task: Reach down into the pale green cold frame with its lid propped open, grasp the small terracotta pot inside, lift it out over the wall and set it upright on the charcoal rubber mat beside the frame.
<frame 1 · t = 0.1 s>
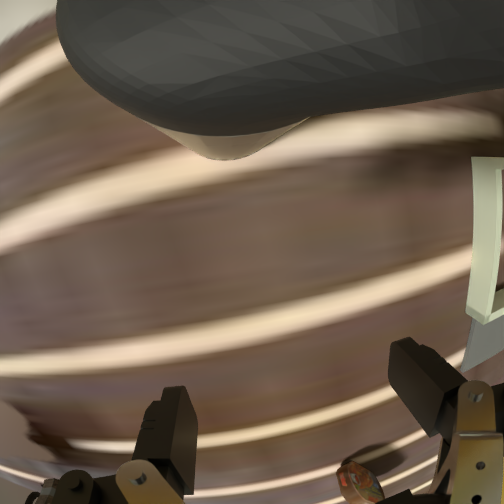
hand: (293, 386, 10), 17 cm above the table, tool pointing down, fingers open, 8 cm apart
tin: (354, 469, 39), on the table
mug: (61, 491, 38), on the table
slate mat: (498, 327, 33), on the table
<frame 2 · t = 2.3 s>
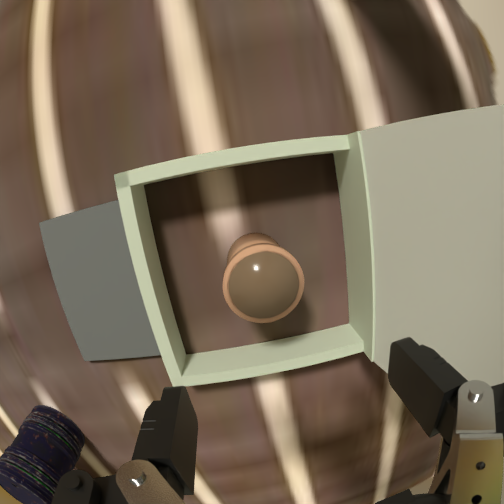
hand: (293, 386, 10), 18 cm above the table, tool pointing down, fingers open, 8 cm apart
pot: (259, 271, 24), in the cold frame
cold frame: (255, 260, 28), on the table
slate mat: (99, 287, 27), on the table
storage jar: (58, 427, 32), on the table
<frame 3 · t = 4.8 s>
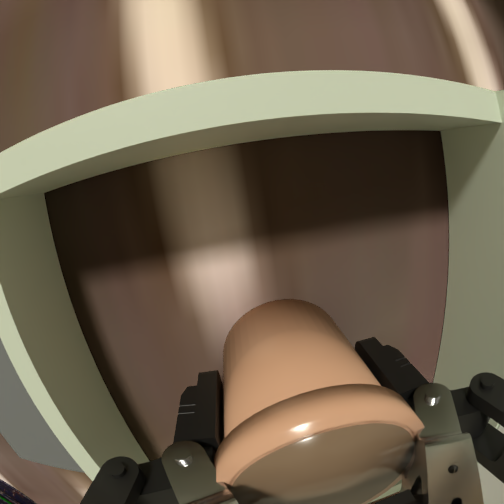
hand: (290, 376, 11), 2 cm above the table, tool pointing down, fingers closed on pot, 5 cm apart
pot: (300, 406, 9), in the cold frame, touching gripper
cold frame: (283, 353, 12), on the table
slate mat: (9, 373, 12), on the table
storage jar: (18, 498, 16), on the table
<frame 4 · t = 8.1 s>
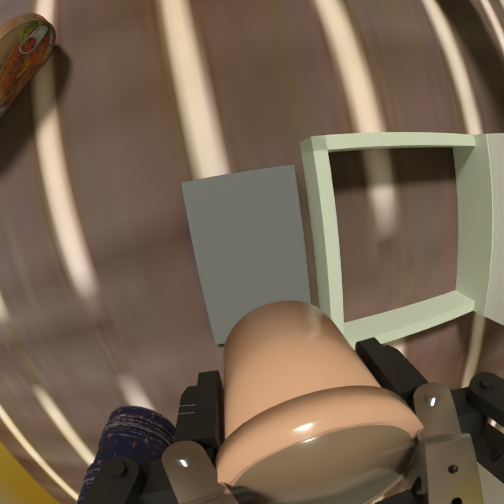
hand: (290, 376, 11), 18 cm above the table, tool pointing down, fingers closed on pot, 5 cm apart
pot: (301, 407, 9), point 20 cm above the table, touching gripper
tin: (20, 81, 21), on the table
cold frame: (401, 232, 29), on the table
slate mat: (251, 258, 28), on the table
storage jar: (143, 429, 33), on the table
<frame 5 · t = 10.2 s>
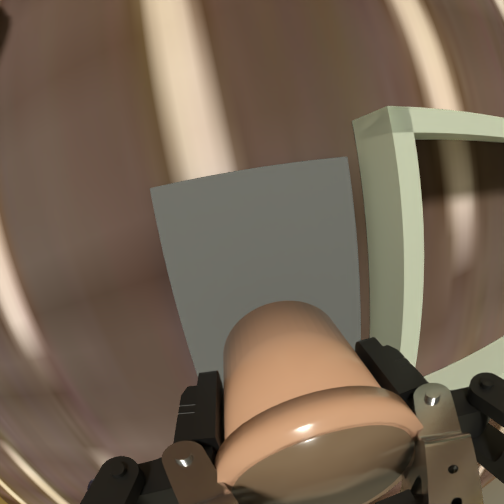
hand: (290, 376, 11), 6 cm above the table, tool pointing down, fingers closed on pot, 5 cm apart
pot: (300, 407, 9), point 8 cm above the table, touching gripper
cold frame: (479, 261, 17), on the table
slate mat: (272, 313, 17), on the table
when the fingers open (3 cm above the table, at t = 11.8 s): pot stays where it is, resting on slate mat.
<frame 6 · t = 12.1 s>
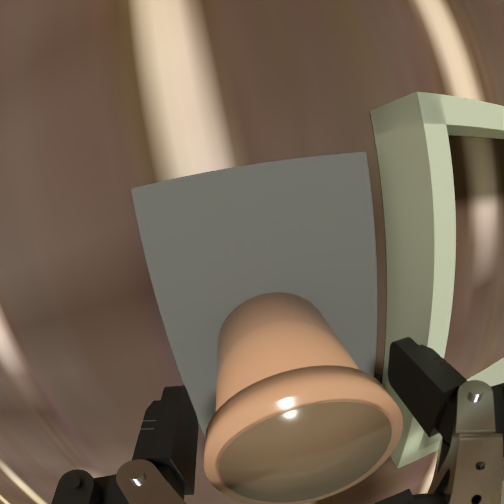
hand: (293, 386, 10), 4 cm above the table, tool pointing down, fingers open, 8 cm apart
pot: (287, 391, 10), on the slate mat, point 4 cm above the table
cold frame: (500, 270, 15), on the table
slate mat: (276, 334, 14), on the table
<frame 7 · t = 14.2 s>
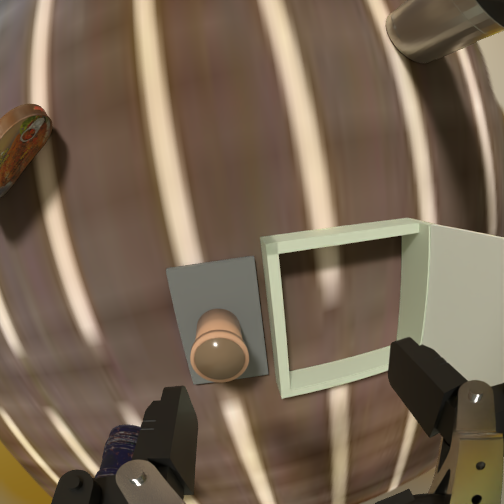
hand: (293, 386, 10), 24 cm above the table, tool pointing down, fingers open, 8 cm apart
pot: (219, 342, 31), on the slate mat, point 4 cm above the table
tin: (23, 158, 28), on the table
cold frame: (344, 303, 37), on the table
slate mat: (220, 325, 36), on the table
storage jar: (137, 442, 39), on the table
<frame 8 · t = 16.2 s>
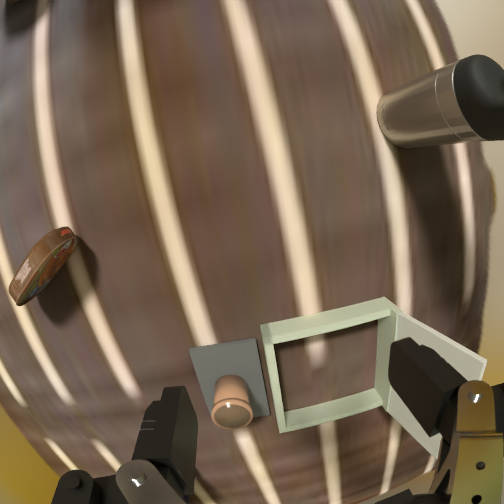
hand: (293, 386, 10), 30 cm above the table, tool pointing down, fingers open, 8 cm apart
pot: (231, 401, 40), on the slate mat, point 4 cm above the table
tin: (55, 259, 38), on the table
cold frame: (329, 364, 45), on the table
slate mat: (232, 383, 45), on the table
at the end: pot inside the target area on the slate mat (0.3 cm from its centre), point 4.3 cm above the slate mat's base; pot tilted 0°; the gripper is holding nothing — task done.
